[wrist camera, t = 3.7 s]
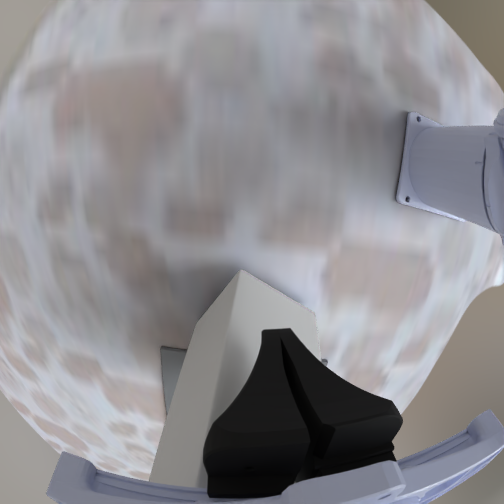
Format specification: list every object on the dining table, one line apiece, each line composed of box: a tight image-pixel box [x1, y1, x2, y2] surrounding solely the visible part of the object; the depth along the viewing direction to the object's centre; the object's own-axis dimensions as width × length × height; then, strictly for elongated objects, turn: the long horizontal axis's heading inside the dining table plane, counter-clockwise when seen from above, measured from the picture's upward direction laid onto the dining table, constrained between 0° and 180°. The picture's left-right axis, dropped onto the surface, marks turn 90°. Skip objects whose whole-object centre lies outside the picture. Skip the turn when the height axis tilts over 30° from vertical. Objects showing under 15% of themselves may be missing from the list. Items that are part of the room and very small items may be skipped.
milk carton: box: [149, 270, 321, 488], centre depth 14 cm, size 7×7×19 cm
